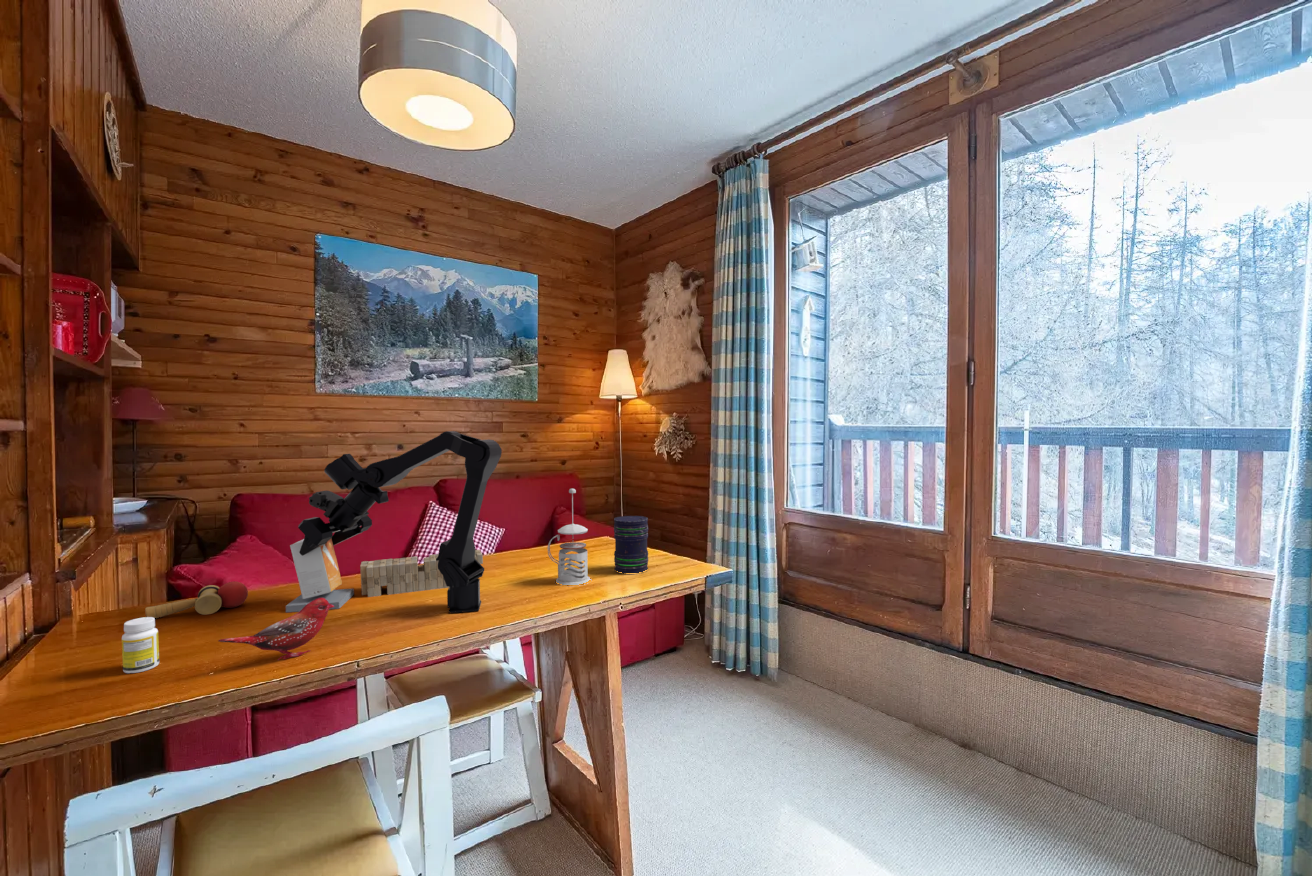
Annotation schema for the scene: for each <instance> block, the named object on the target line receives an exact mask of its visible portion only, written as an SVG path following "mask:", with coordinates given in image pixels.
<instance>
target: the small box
mask: <svg viewBox="0 0 1312 876" xmlns="http://www.w3.org/2000/svg"><path fill="white" fill-rule="evenodd" d="M303 541H304V538H303V539H301V540H298V541H296V542H294V543H292V544H290V545H289V548H290V550H291V551H290V552H291V556H292V559H293V563H294V568H295V572H296V576H297V579H298V584H299V585H298V586H299V589H300V592H301V594H302V598H303V599H306V598H310V597H314V596H318V595H322V594H325V593H329V592H332V591H333V590H336V588H338V587H340V586H341V585H343V581H342V578H341V577H342V576H341V573H340V568H339V564H338V559H337V555H336V552H335V545H334V546H333V542H332V538H331V539H330V540H329V541H327V543H326V544H324V545H323V546H321V547H319V548H317V549H315V550H313V551H311V552H309V553H307V554H305V555H303V556H302V555H301V554H300V553H299V552H300V549H301V546H302V543H303ZM301 594H300V595H301Z"/></svg>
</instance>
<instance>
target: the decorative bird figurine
mask: <svg viewBox="0 0 1312 876" xmlns="http://www.w3.org/2000/svg"><path fill="white" fill-rule="evenodd" d="M332 607H334V606H333V605H331V604H329V603H328V601H327V600H326V599H325V598H317V599H315V600H313V601H312V602H310V603H308V604H307V605H306V606H305V607H304V608H303V609H302V610H301V611H299V612H295V614H293V615H291V616H289V617H287V618H285V619H282V620H280V621H277V622H275V623H273V624H271V625H269V626H267V627H265V628H264V629H262V630H260V631H258V632H257V633H255V634H254V635H250V636H249V635H248V636H240V637H230V638H220V639H218V640H217V641H218V642H220V643H234V644H247V645H251V646H253V647H256V648H258V649H260V650H263V651H274V652H279V653H281V654H285V655H282V656H280V657H279V658H278V659H277V661H279V660H281V659H282V660H285V659H290V658H293V657H295V658H297V657H300V656H302V655H304V654H306V653H309V652H311V650H309V649H308V650H306V651H298V652H292V651H291V650H295V649H297V648H300V647H302V646H304V645H306V644H308V643H309V642H310V641H312V639H314V638H315V637H316V636H317V635H318V633H319V632H320V631H321V629H322V627H323V625H324V622H325V620H326V617H328V613H329V610H331V609H330V608H332Z"/></svg>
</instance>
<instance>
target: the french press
mask: <svg viewBox="0 0 1312 876" xmlns="http://www.w3.org/2000/svg"><path fill="white" fill-rule="evenodd" d="M568 493H569V494H571V516H572V519H571V520H572V523H570V524H566V525H563V526H562V527H560V528H559V529H557V533H558V534H556V535H555V536H553V537H552V538H551V539H550V540H549V542H548V544H547V555H548V557H549V559H550V560H551V562H554V563H555V564H557V576H558V577H557V578H556V579H555V580H556V582H557V583H559V584H562V585H579V584H583V583H586V582H588V581H589V580H591V581H592V578H591V577H590V576H588V575H589V574H588V573H589V572H588V549H586V547H587V543H586V542H585V543H584V542H581V541H578V542H575V541H570V542H565V543H561V544H559V548H561V549H560V550H558V551H559V552H558V560H557V559H555V558H554V557H553V555H552V553H551V543H552V541H553V540H554V539H555V538H557V541H558V542H559V541H560V540H561V537H560V536H561V535H572V538H574V535H583V534H586V533H588V530H589V529H588V528H586V527H585V526H583V525H581V524H575V523H574V494H576V493H577V490H576V489H575V488H569V490H568ZM560 534H561V535H560ZM569 552H574V553H569ZM574 566H576V567H574ZM590 578H591V579H590ZM562 585H561V586H562ZM579 586H580V585H579Z"/></svg>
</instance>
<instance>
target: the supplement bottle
mask: <svg viewBox="0 0 1312 876" xmlns="http://www.w3.org/2000/svg"><path fill="white" fill-rule="evenodd" d="M123 632H124V634H122V636H121V652H122V653H121V654H122V655H121V656H122V657H121V658H122V671H123V673H125V674H135V673H136V674H137V673H141V672H142V673H143V672H146V671H149V670H152V669H154V668H155V667H157V666H158V665H159V664H160V648H159V647H160V646H159V645H160V643H159V630H158V628H156V619H155V618H153V617H146V616H145V617H139V618H133V619H130V620H127V621H125V622H124V624H123Z"/></svg>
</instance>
